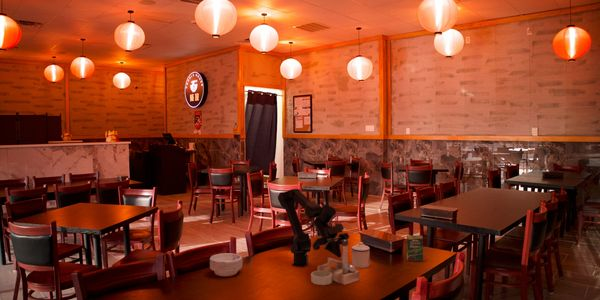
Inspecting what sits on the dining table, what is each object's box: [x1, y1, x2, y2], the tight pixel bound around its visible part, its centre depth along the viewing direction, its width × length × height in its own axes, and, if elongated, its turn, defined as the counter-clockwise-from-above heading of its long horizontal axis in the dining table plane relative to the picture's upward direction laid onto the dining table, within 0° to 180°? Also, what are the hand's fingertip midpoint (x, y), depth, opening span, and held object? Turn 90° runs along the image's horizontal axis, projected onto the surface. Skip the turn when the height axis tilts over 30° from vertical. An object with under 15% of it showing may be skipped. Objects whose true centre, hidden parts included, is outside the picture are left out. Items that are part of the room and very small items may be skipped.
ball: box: [329, 261, 336, 269], centre depth 203 cm, size 4×4×4 cm
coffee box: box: [406, 234, 424, 262], centre depth 226 cm, size 8×3×13 cm, turn 82°
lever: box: [327, 239, 356, 274], centre depth 201 cm, size 17×7×15 cm, turn 39°
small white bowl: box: [310, 270, 333, 286], centre depth 197 cm, size 9×9×4 cm
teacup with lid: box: [351, 241, 371, 269], centre depth 221 cm, size 12×9×12 cm
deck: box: [317, 262, 360, 285], centre depth 202 cm, size 18×9×4 cm, turn 39°
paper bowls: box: [209, 252, 243, 277], centre depth 209 cm, size 15×15×8 cm
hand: (340, 257), depth 197 cm, fingers closed
